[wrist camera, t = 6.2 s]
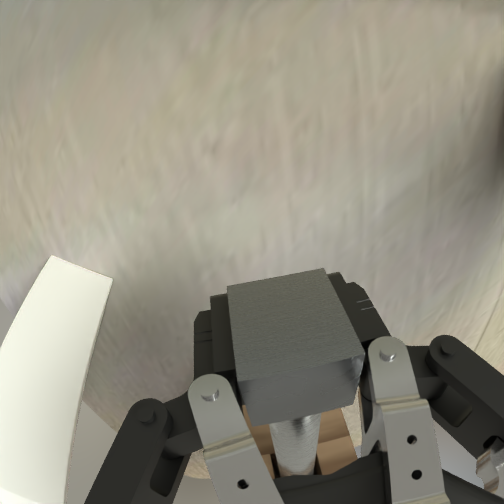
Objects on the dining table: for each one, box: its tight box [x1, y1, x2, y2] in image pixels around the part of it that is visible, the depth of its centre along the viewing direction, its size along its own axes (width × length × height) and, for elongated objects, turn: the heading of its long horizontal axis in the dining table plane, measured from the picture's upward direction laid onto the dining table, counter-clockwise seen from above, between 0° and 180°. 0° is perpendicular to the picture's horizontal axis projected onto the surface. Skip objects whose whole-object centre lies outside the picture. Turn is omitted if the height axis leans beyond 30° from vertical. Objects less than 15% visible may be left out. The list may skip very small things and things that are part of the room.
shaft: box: [227, 268, 365, 477], centre depth 18 cm, size 29×4×4 cm, turn 7°
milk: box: [0, 255, 113, 504], centre depth 16 cm, size 6×6×22 cm
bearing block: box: [242, 405, 358, 479], centre depth 26 cm, size 12×9×18 cm
